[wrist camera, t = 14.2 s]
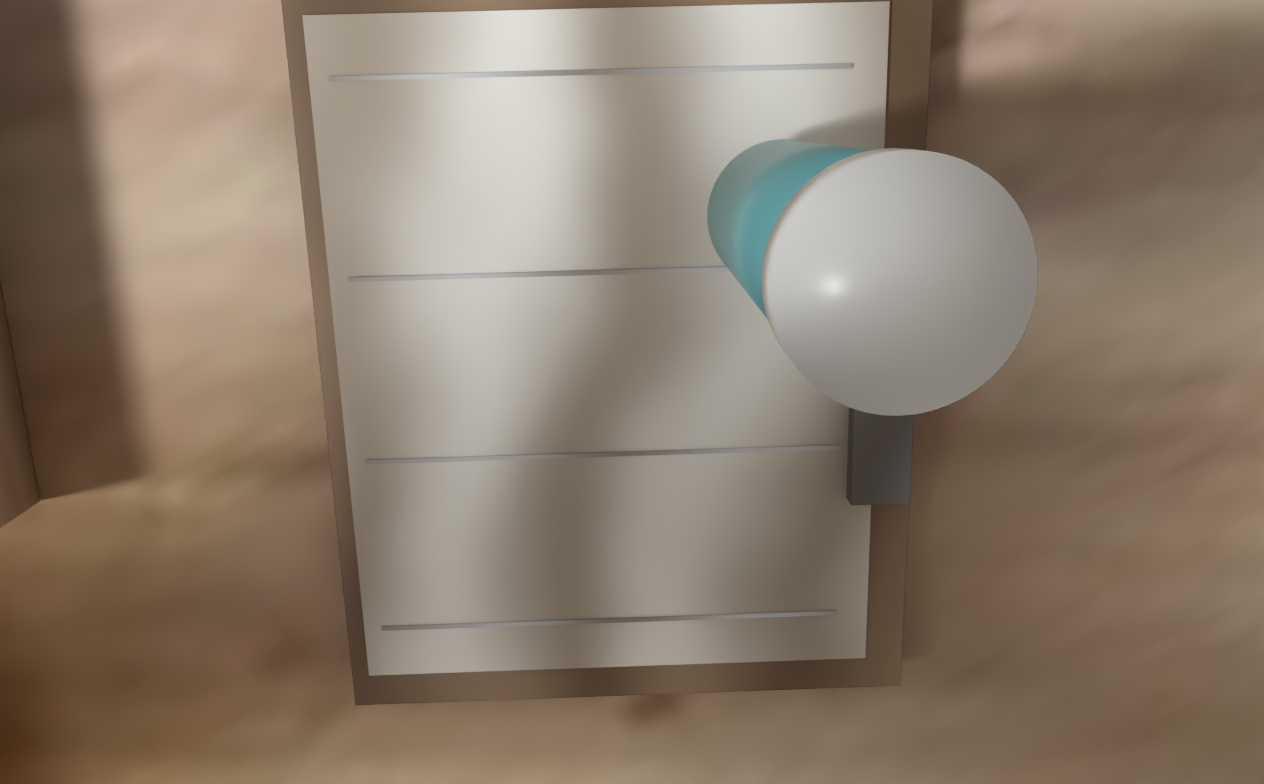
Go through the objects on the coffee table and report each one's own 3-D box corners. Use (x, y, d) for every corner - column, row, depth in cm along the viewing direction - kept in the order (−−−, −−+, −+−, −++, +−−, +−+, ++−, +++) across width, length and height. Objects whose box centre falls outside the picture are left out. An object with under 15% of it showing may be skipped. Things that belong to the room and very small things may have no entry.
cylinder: (698, 284, 27) (769, 419, 15) (697, 135, 26) (773, 154, 14) (842, 280, 27) (1027, 411, 15) (847, 131, 26) (1048, 147, 14)
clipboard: (364, 683, 32) (350, 718, 30) (292, -22, 26) (269, -32, 24) (889, 664, 32) (906, 698, 30) (920, -36, 27) (943, -47, 25)
